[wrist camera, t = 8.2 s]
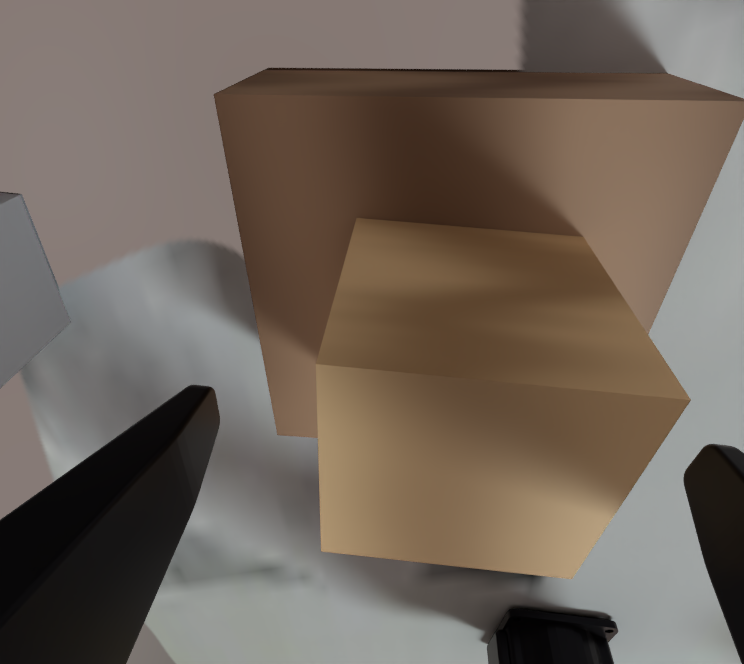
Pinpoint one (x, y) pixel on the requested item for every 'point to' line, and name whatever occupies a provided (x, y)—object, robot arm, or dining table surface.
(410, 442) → the oak cube
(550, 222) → the walnut base
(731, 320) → the dining table surface
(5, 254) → the grey cube
